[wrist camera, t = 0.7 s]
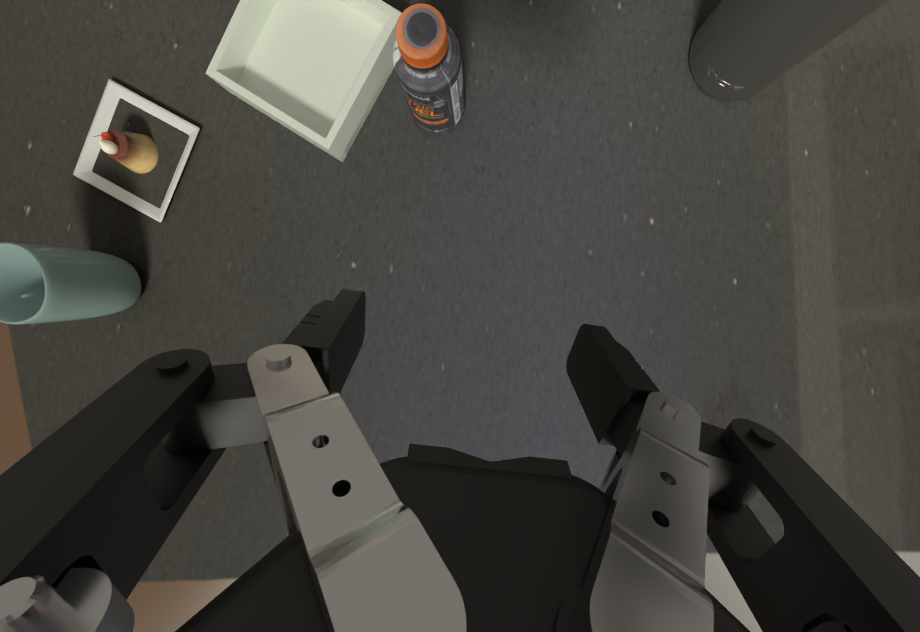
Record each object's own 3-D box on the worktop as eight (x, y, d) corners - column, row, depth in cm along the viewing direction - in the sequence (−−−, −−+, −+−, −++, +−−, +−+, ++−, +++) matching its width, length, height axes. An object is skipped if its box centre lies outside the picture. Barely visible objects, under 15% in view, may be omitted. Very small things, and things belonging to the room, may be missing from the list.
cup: (160, 311, 40) (56, 319, 30) (103, 319, 41) (-18, 330, 31) (146, 247, 40) (35, 235, 30) (88, 257, 40) (-40, 247, 30)
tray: (292, -33, 36) (272, -68, 32) (409, 39, 36) (401, 12, 32) (231, 93, 37) (205, 73, 34) (342, 162, 37) (328, 149, 34)
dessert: (119, 84, 39) (68, 55, 34) (207, 132, 38) (169, 111, 34) (83, 177, 40) (30, 163, 35) (169, 224, 40) (127, 216, 35)
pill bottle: (403, 124, 36) (370, 53, 25) (423, 71, 36) (397, -26, 25) (453, 144, 36) (441, 81, 25) (473, 92, 36) (471, 3, 24)
